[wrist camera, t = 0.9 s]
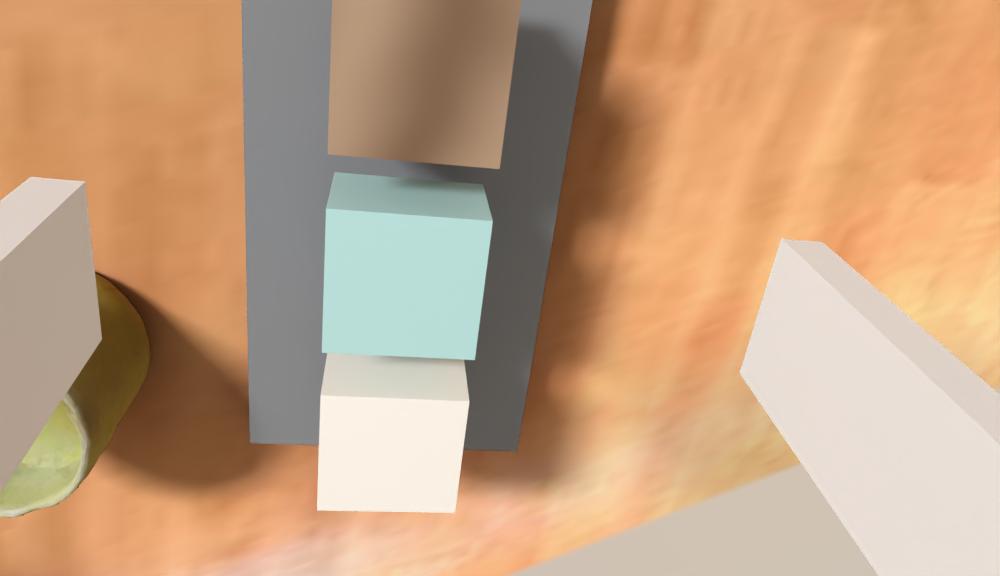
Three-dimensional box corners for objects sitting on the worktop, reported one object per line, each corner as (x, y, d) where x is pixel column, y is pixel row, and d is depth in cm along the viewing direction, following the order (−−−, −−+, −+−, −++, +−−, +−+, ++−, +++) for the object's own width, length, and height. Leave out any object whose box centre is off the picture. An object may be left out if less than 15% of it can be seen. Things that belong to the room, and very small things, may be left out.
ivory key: (325, 451, 38) (317, 510, 34) (328, 343, 35) (320, 395, 32) (449, 455, 39) (455, 512, 35) (462, 350, 36) (469, 401, 33)
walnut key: (336, 123, 31) (327, 154, 27) (341, -43, 28) (333, -32, 25) (488, 137, 32) (499, 169, 28) (508, -23, 29) (522, -9, 26)
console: (256, 419, 42) (238, 485, 38) (248, -121, 31) (221, -122, 26) (512, 428, 45) (525, 491, 40) (593, -74, 33) (624, -67, 29)
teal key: (330, 304, 34) (321, 352, 31) (334, 171, 32) (325, 208, 28) (467, 312, 35) (474, 360, 32) (482, 184, 33) (492, 221, 29)
